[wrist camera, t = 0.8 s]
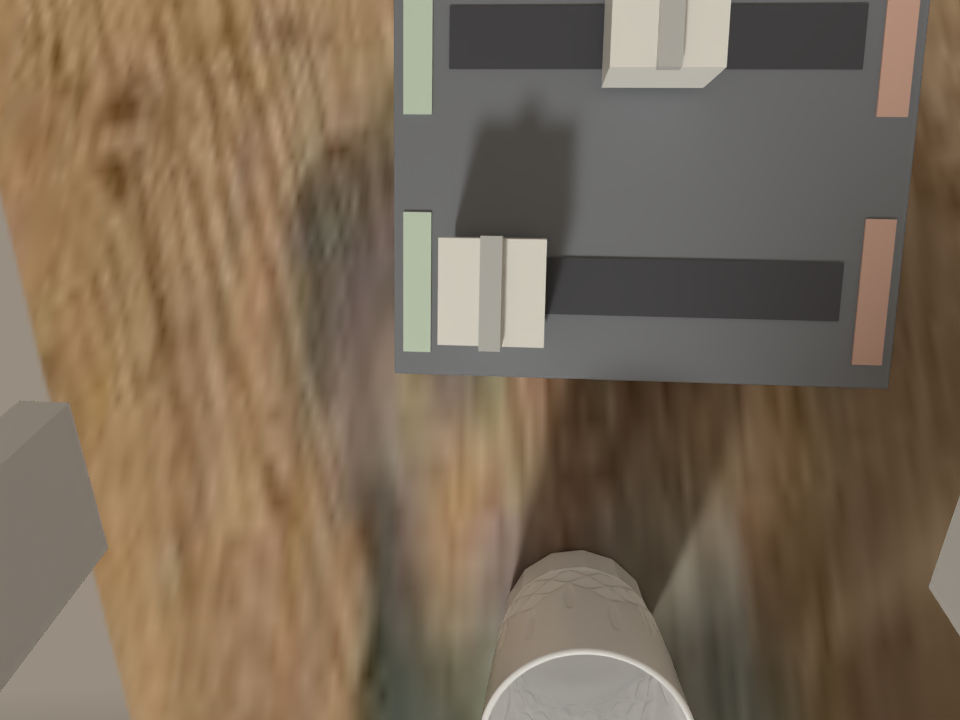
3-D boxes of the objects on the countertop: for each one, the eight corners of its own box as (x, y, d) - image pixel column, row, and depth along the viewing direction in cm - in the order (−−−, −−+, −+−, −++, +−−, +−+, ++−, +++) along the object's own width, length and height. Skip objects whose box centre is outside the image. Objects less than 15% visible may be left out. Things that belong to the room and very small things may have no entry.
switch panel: (868, 379, 34) (889, 389, 32) (402, 365, 36) (394, 373, 34) (913, -55, 31) (938, -75, 29) (402, -49, 33) (393, -68, 31)
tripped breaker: (702, 90, 31) (730, 66, 26) (601, 90, 31) (611, 66, 26) (710, -23, 30) (739, -68, 25) (606, -22, 30) (616, -66, 26)
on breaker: (543, 335, 33) (543, 353, 28) (449, 333, 33) (435, 350, 29) (546, 235, 32) (547, 237, 28) (451, 234, 32) (435, 235, 28)
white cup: (501, 529, 37) (485, 638, 27) (667, 544, 36) (712, 661, 27) (489, 679, 38) (471, 834, 29) (649, 696, 38) (686, 860, 28)
